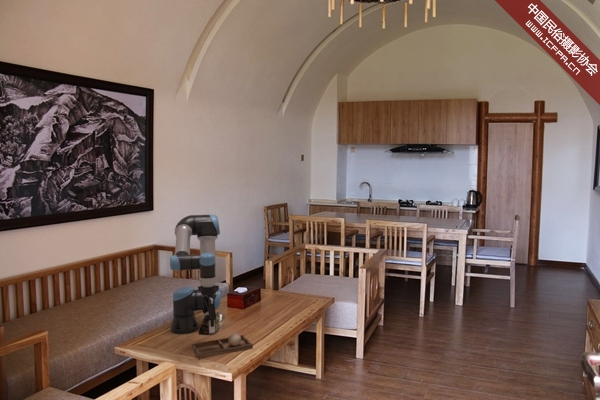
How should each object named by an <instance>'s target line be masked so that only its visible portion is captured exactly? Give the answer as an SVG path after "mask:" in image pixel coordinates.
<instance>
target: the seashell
mask: <svg viewBox="0 0 600 400" xmlns="http://www.w3.org/2000/svg"><path fill="white" fill-rule="evenodd" d="M208 319H209V315H206V316H205V317H204V319H203V318H202V321H201V325H200V327H198V335H199V336H214V335H217V333H218V332H219V331H220V329H221V327H220V321H221V313H220V312H216V320H215V332H214V333H209V321H208Z"/></svg>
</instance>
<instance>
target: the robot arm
mask: <svg viewBox="0 0 600 400" xmlns="http://www.w3.org/2000/svg"><path fill="white" fill-rule="evenodd" d="M220 234H221V230H220V223H219V217H218V215H216V214H190V215H187V216H185V217H183V218H181V219H180V220H179V221H178V222H177V223H176V226H175V228H174V235H175V237H176V238H175V246H174V247H175V249H174V255H171V256H170V257H169V266H170V270H171V271H188V270H189V271H190V270H199V280H198V281H199V283H200V284H199V285H198V286H197V289H195V287H193V286H183V287H180V288H177V289H175V290H174V291H173V293H172V309H173V310H172V312H173V317H172V320H171V324H170V332H171V333H173V334H175V335H176V334H177V335H186V334H187V335H189V334H191V333H194V332H196V331H199V323H198V320H197V317H196V315H195V314H196V313H195V312H196V311H197V312H198V311H200V312H202V320H203V319H204V317H205V316H206V315H209V319H208V321H209V333H214V332H215V320H216V313H217V312H216V310H218V309H220V307H221V301H222V288H221V287H220V284H219V283H217V271H216V270H217V267H216V266H217V264H216V240H217V239H219V238H218V235H220ZM192 236H197V237H196V238H197V240H198V241H199V254H198V253H195V254H191V237H192Z"/></svg>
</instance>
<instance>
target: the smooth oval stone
mask: <svg viewBox="0 0 600 400" xmlns="http://www.w3.org/2000/svg"><path fill="white" fill-rule="evenodd" d="M240 335H241V334H239V333H237V332H232V333H230V334H229V336H228V337H227V338H228V342H229V344H230V345H232V346H237V345H239V344H240V342H241V336H240Z"/></svg>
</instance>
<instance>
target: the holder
mask: <svg viewBox="0 0 600 400" xmlns="http://www.w3.org/2000/svg"><path fill="white" fill-rule="evenodd" d="M239 335H240V336H241V342H240V344H239V345H237V346H232V345H230V344H229V342H228V338H229V337H224V338H218V339H212V340H207V341H200V342H195V343H191V351H192V352H193V353H194V355H195V357H196V358H197V359H198V360H199V361H200V360H201V359H204V358H210V357H215V356H220V355H225V354H230V353H235V352H240V351H245V350H251V349H254V348H253V347H254V344H253V343H252V342H251V341H250V340H249V338H247V337H246V336H245V335H244V334H239Z"/></svg>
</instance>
